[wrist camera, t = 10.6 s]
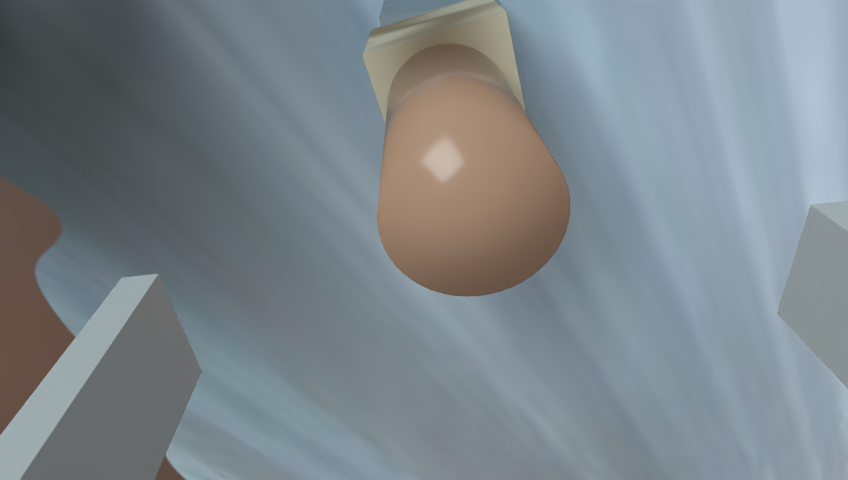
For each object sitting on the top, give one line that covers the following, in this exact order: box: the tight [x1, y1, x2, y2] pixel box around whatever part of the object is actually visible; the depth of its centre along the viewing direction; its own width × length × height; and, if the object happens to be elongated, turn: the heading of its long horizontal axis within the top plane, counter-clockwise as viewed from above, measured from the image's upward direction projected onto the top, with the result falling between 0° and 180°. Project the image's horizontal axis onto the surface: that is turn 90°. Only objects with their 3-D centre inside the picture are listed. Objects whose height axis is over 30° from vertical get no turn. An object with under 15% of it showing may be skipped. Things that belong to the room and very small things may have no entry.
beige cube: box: [363, 0, 526, 124], centre depth 26 cm, size 6×6×6 cm
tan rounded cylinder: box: [377, 43, 570, 296], centre depth 19 cm, size 5×5×10 cm
